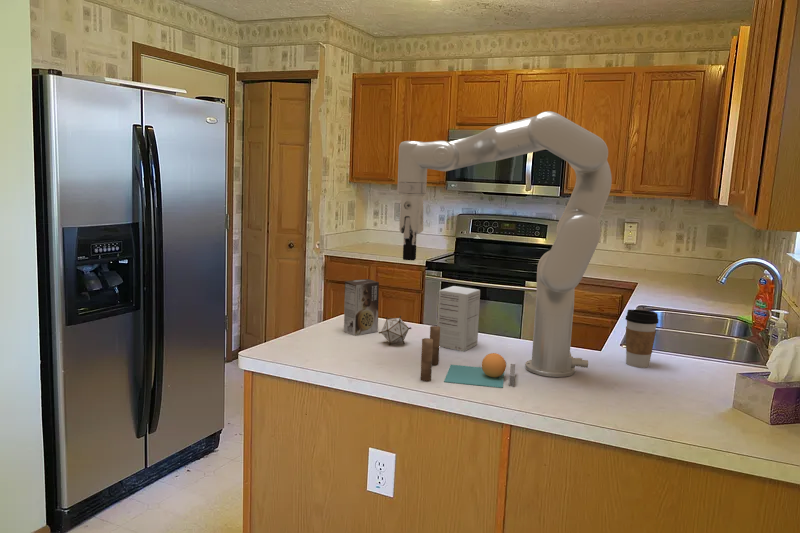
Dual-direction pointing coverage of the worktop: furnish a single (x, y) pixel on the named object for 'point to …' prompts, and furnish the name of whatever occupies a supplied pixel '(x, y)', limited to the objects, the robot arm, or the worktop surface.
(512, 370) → the stopper strip
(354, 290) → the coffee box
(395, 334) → the game die
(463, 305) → the supplement box
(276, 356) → the worktop surface
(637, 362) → the coffee cup
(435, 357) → the post far
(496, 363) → the ball
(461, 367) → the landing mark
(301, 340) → the worktop surface
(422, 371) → the post near
